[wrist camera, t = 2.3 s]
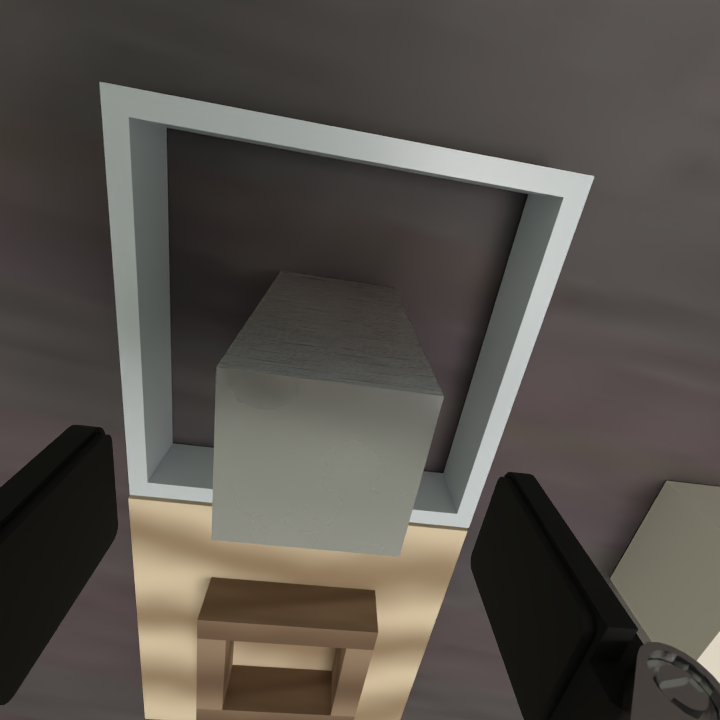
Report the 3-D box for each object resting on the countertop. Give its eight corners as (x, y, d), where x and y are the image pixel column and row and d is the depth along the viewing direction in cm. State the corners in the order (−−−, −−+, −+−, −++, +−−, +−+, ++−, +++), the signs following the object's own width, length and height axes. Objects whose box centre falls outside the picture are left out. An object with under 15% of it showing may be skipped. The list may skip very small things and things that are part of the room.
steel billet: (281, 270, 18) (216, 366, 9) (393, 287, 18) (443, 396, 9) (272, 373, 20) (211, 540, 11) (374, 386, 20) (399, 556, 11)
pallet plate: (139, 482, 22) (102, 537, 19) (461, 515, 24) (481, 570, 21) (152, 699, 30) (128, 765, 27) (394, 711, 32) (400, 774, 28)
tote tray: (143, 99, 15) (99, 81, 12) (553, 176, 17) (594, 176, 14) (157, 454, 21) (129, 494, 19) (453, 486, 23) (468, 528, 20)
